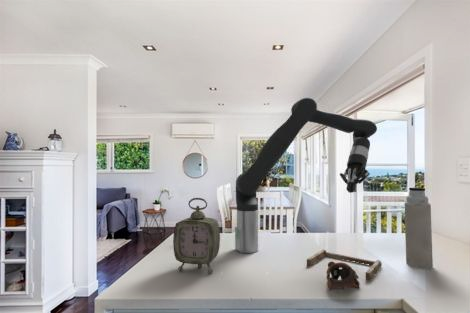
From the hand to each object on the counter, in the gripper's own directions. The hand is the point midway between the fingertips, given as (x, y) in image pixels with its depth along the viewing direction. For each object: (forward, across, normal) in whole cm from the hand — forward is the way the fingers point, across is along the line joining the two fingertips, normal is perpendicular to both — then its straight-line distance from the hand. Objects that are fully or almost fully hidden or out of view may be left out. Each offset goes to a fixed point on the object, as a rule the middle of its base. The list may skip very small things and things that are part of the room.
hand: (349, 191), depth 111 cm
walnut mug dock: (+29, +2, +4) cm, 30 cm away
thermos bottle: (+18, +17, +24) cm, 35 cm away
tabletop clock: (+52, -27, -33) cm, 67 cm away
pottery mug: (+40, +11, -8) cm, 42 cm away
